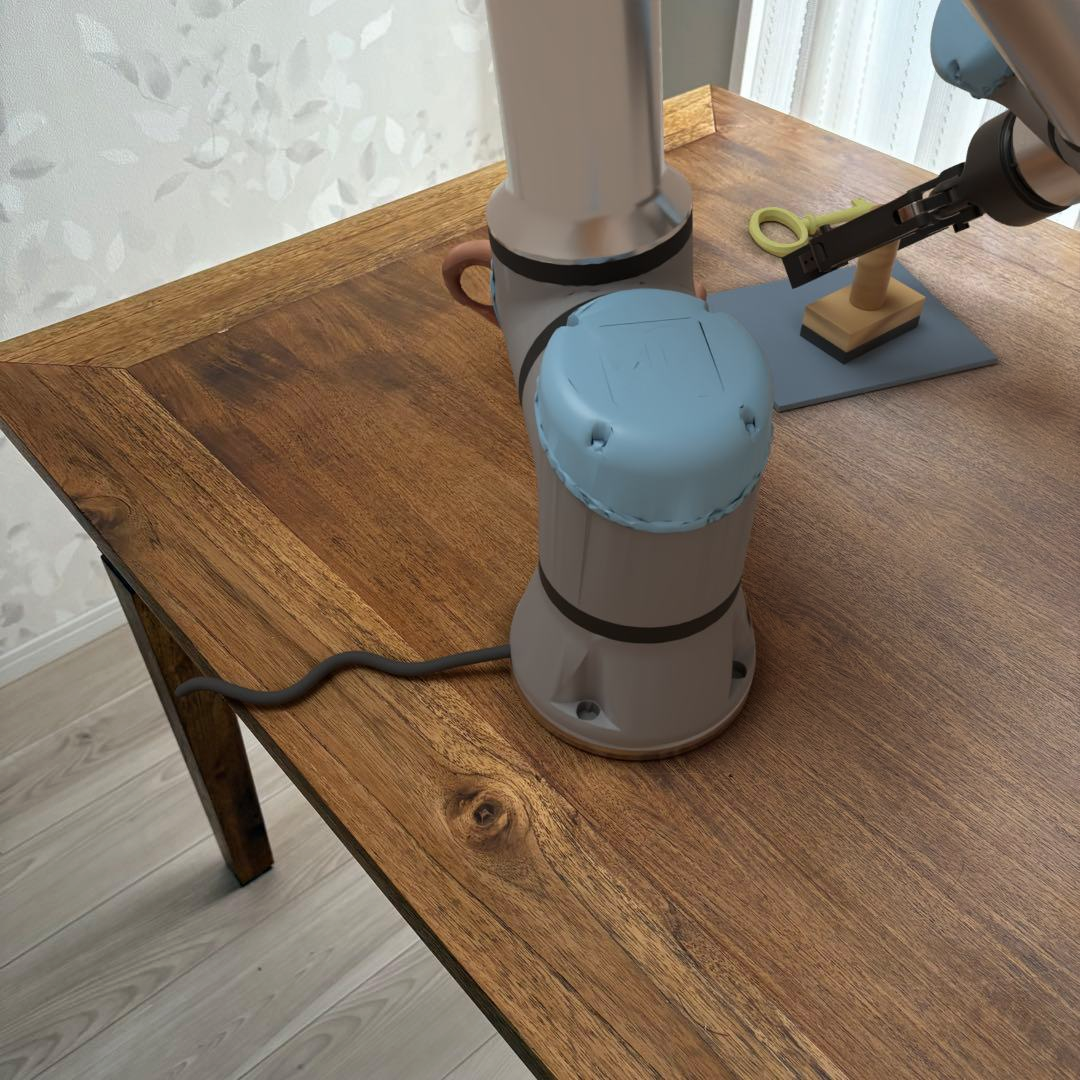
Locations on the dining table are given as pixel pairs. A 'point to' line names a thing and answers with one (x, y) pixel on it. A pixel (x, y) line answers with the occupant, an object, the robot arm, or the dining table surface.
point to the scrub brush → (863, 309)
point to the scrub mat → (822, 378)
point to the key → (800, 224)
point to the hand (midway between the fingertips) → (839, 254)
